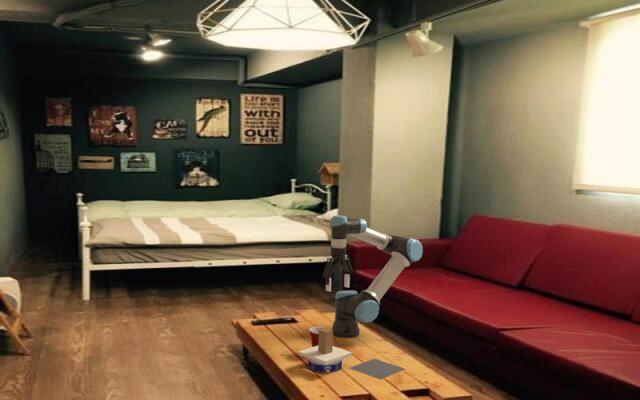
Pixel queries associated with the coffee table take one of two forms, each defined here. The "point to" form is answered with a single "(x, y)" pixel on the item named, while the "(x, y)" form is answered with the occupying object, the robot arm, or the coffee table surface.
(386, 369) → the mat
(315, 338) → the plastic cup
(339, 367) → the dog bowl
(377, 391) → the coffee table surface
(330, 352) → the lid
